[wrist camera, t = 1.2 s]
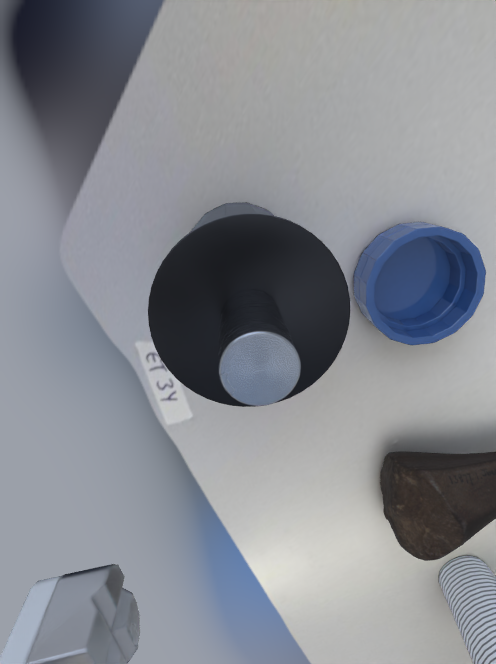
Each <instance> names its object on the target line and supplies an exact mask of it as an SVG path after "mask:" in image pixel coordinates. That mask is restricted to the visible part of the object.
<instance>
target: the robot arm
mask: <svg viewBox="0 0 496 664" xmlns="http://www.w3.org/2000/svg"><path fill="white" fill-rule="evenodd" d="M123 582H124V575H123V573H122V571H121V569H120V567H119V565H115V564H112V565H107V566H102V567H98V568H93V569H88V570H84V571H79V572H74V573H70V574H65V575H63V576H59V577H54V578H49V579H44V580H40V581H37V582H36V584H34V585H33V587H32V588H31V589H30V591H29V593H28V595H27V598H26V600H25V602H24V604H23V607H22V609H21V611H20V613H19V616H18V618H17V620H16V622H15V625H14V627H13V629H12V631H11V634H10V636H9V638H8V640H7V643H6V645H5V647H4V649H3V651H2V654H1V656H0V664H127V663H128V662H129V661H130V659H131V658H132V656H133V655H134V653H135V652H136V650H137V649H138V641H139V635H140V620H139V619H140V618H139V611H138V606H137V602H136V600H135V598H134V596H133V594H132V593H131V592H130V591H128V590H126V589H124V588H122V586H123Z"/></svg>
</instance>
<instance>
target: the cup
mask: <svg viewBox="0 0 496 664" xmlns="http://www.w3.org/2000/svg"><path fill="white" fill-rule="evenodd" d="M439 584H440V586H441V589H442V591H443V593H444V596H445V598H446V600H447V603H448V605H449V607H450V610H451V612H452V614H453V617H454V619H455V621H456V624H457V626H458V628H459V631H460V633H461V635H462V638H463V640H464V642H465V645H466V647H467V650H468V652H469V654H470V657H471V659H472V661H473V664H496V576H495V575H494V574H493V572H492V571H491V570H490V569H489V567H488V566H487V565H486V564H485V562H483V561H482V560H480V559H479V558H477V557H473V556H462V557H458V558H455V559H453V560H451V561H449V562H448V563H447V564H446V565H444V566H443V568H442V569H441V571H440V573H439Z"/></svg>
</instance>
